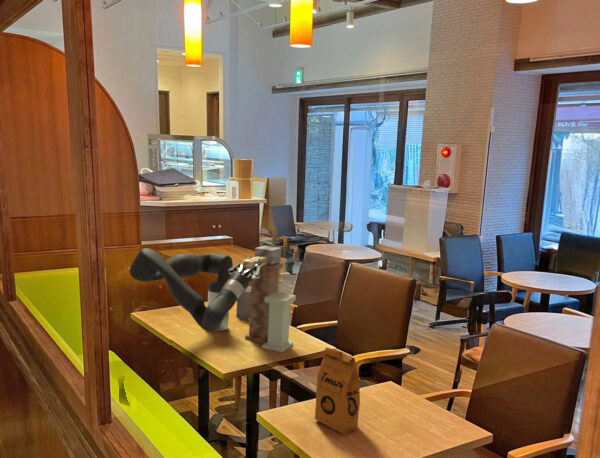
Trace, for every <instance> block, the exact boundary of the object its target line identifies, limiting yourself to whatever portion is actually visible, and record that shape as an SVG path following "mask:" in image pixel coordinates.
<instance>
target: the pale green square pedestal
mask: <svg viewBox="0 0 600 458" xmlns="http://www.w3.org/2000/svg"><path fill="white" fill-rule="evenodd" d="M296 300H297V295H296V294H295V295H294V294H290V293H285V292H275V293H273V294H271V295H269V296H266V297H265V302H266V303H270V305H269V325H268V342H266V343H262V349H265V350H270V351H275V352H279V353H284V352H285V351H286V350H288V349H290V347H292V346H293V345H294V341H290V340H289V337H290V323H291V322H290V320H291V306H292V305H291V304H292V303H293V302H296Z"/></svg>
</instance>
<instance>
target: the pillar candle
mask: <svg viewBox="0 0 600 458" xmlns="http://www.w3.org/2000/svg"><path fill="white" fill-rule="evenodd" d="M250 302H251V285H248V287H247V288H246V289H245V291H244V292H243V294H242V295H241V297H240V298H239V299H238V300H237V301H236V314H235V315H236V318H238V319H242V320H250Z"/></svg>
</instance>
